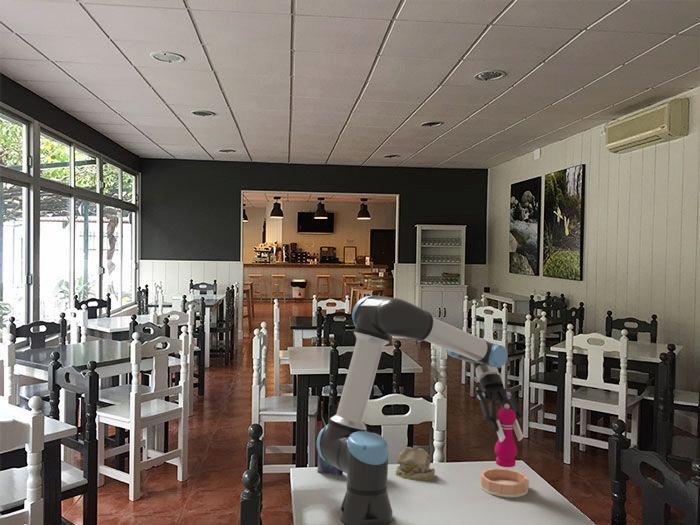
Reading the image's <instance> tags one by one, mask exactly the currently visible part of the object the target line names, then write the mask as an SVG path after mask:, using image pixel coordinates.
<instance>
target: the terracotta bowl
mask: <svg viewBox="0 0 700 525" xmlns="http://www.w3.org/2000/svg"><path fill="white" fill-rule="evenodd" d="M479 478H480V480H479V482H480V487H481V489H482V491H484V492H485V493H486V494H489V495H492V496H495V497H500V498H507V499H508V498H509V499H512V498H521V497H524V496H526V495H527V494H528V491H529V486H530V485H529V484H530V483H529V482H530V480H529V478H528V476H527V475H526V474H524V473H522V472H520V471H518V470H514V469H509V468H502V467H501V468H500V467H497V468H496V467H494V468H487V469H484V470H482V471H481V472H480V477H479Z"/></svg>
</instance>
